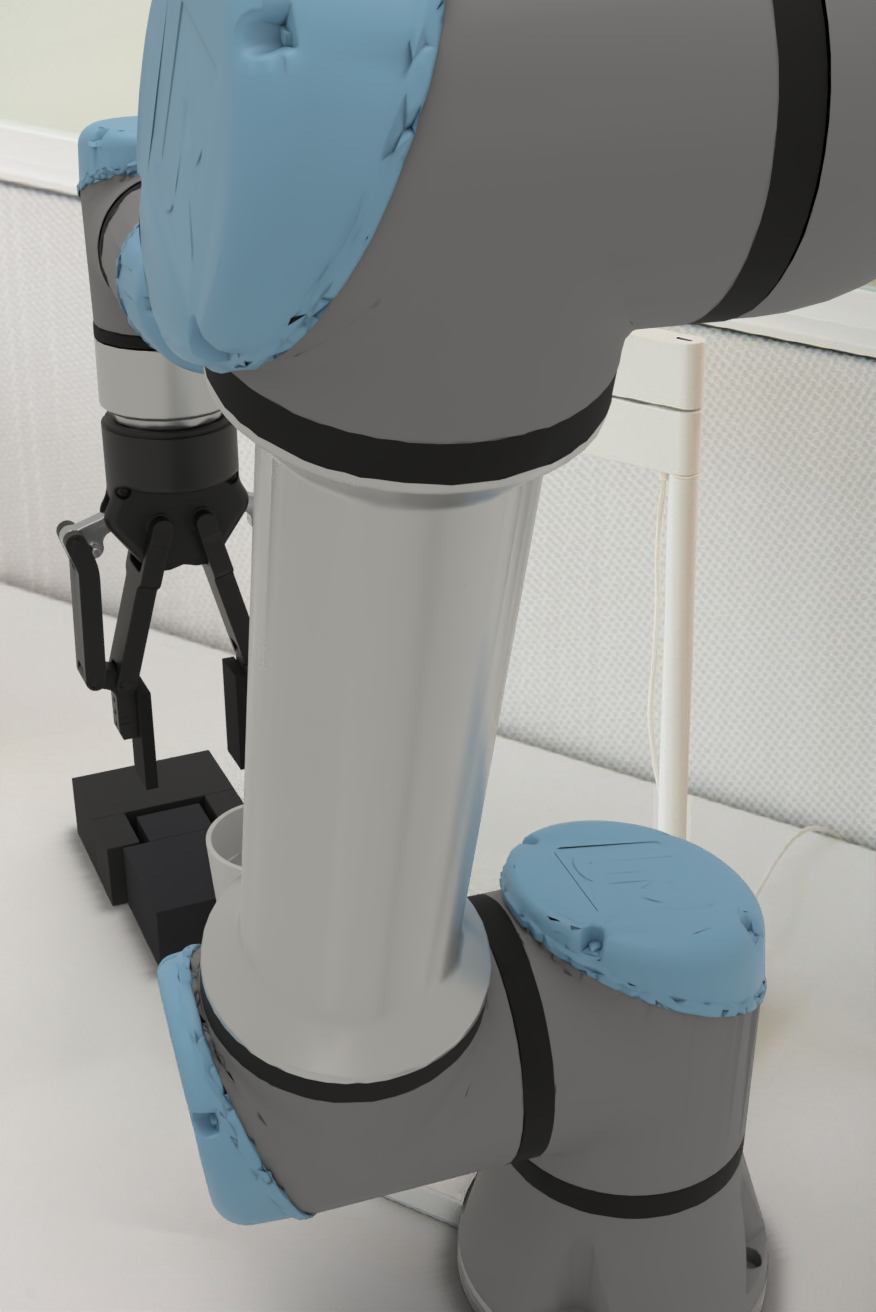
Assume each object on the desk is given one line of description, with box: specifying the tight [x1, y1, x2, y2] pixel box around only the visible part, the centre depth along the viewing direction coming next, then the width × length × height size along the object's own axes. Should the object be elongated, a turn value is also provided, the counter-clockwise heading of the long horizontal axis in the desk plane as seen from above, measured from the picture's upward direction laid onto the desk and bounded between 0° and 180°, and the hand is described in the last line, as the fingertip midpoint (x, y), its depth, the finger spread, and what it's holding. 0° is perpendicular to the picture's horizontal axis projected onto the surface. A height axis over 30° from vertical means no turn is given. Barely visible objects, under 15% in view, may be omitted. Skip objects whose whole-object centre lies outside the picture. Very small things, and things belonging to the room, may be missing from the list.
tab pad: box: [123, 803, 216, 967], centre depth 107 cm, size 11×8×4 cm
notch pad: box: [71, 749, 244, 907], centre depth 113 cm, size 10×10×4 cm
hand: (193, 767), depth 101 cm, fingers open, 5 cm apart
